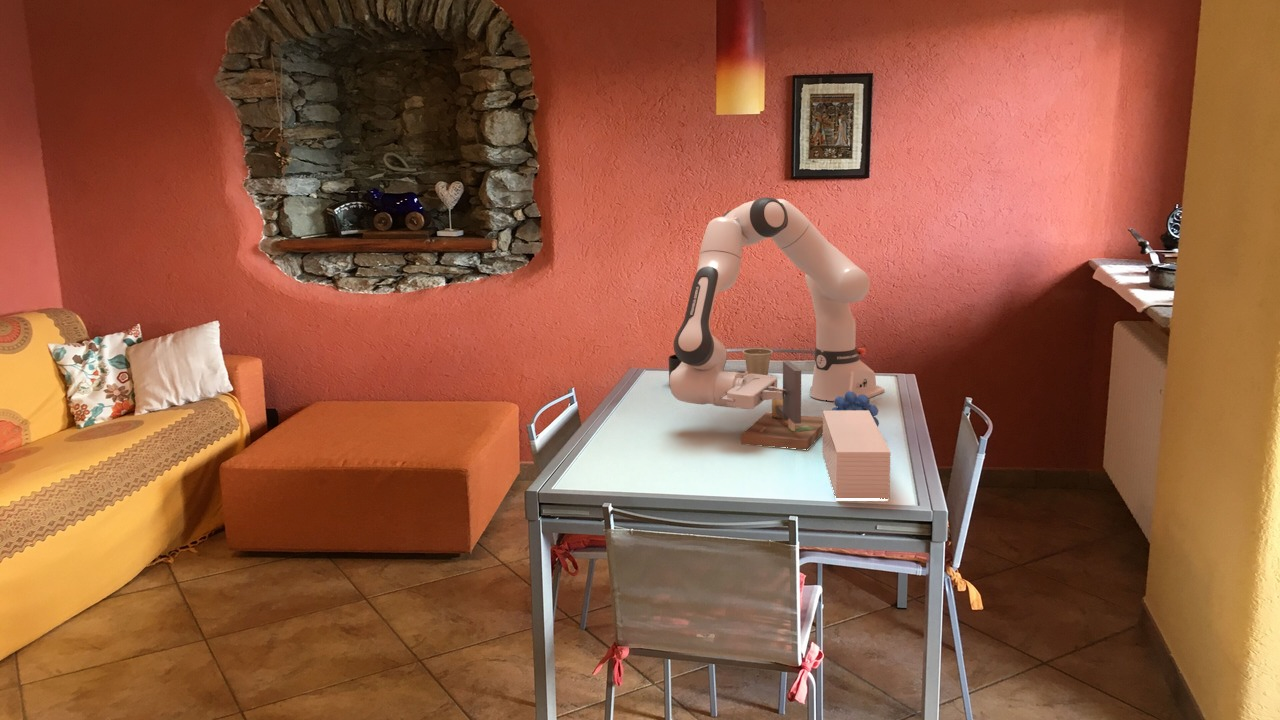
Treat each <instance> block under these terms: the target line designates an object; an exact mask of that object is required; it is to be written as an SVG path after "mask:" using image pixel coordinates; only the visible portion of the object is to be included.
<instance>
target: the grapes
mask: <svg viewBox="0 0 1280 720" xmlns="http://www.w3.org/2000/svg"><path fill="white" fill-rule="evenodd" d="M833 402H834V405H835V406H836V407H833V408H832V409H831V411H836V410H869V411H870V413H871V415H872V417H873V419H874V421H875V423H876V425H877V427H878V428H879V425H880V421H879V419H878V418H877V417H876V416H878V414H879V409H878V407H877V406H876V405H875V404H873V403H870V402H871V401H870V398H868V397H867V396H866V395H863V394H861V395H859V396H858V397H857V395H856V394H855V393H854V392H851V391H848V392H846V393H845V398H844V397H840V396H838V397H836V398H835V401H833Z"/></svg>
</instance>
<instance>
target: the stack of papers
mask: <svg viewBox="0 0 1280 720" xmlns="http://www.w3.org/2000/svg"><path fill="white" fill-rule="evenodd" d="M822 417H823V434H822V435H821V436H822V437H821V438H822V439H821V440H822V444H821V446H822V447H821V450H822V452H821V454H822V453H823V454H822V457H824V458H823V461H824V460H825V461H824V464H825V463H826V465H825V468H826V467H827V468H826V471H827V470H828V472H827V475H828V474H829V475H828V478H829V477H830V479H829V481H830V480H831V482H830V484H832V486H831V488H832V487H833V489H832V491H833V490H834V493H835V496H836V498H880V499H881V498H882V499H884V498H885V499H888V498H889V499H890V488H891V487H890V484H891V480H890V479H891V476H890V475H891V451H890V448H889V447H888V444H887V443H886V441H885V439H884V436H883V435H882V433H881V431H880V429H879V426H878V427H877V425H876V423H875V421H874V419H873V417H872V415H871V413H870V411H869V410H836V411H832V410H822ZM834 493H833V494H834Z"/></svg>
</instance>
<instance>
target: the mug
mask: <svg viewBox="0 0 1280 720" xmlns="http://www.w3.org/2000/svg"><path fill="white" fill-rule="evenodd" d="M681 362H682V361H680V360H679V359H678V358H677V356H676V354H675V353H674V354H671V355H670V356H668V379H669V378H670V374H671V372H672V371H674V370H675V369H676V368H677V367H678V366H679V365H680V364H681Z"/></svg>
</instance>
